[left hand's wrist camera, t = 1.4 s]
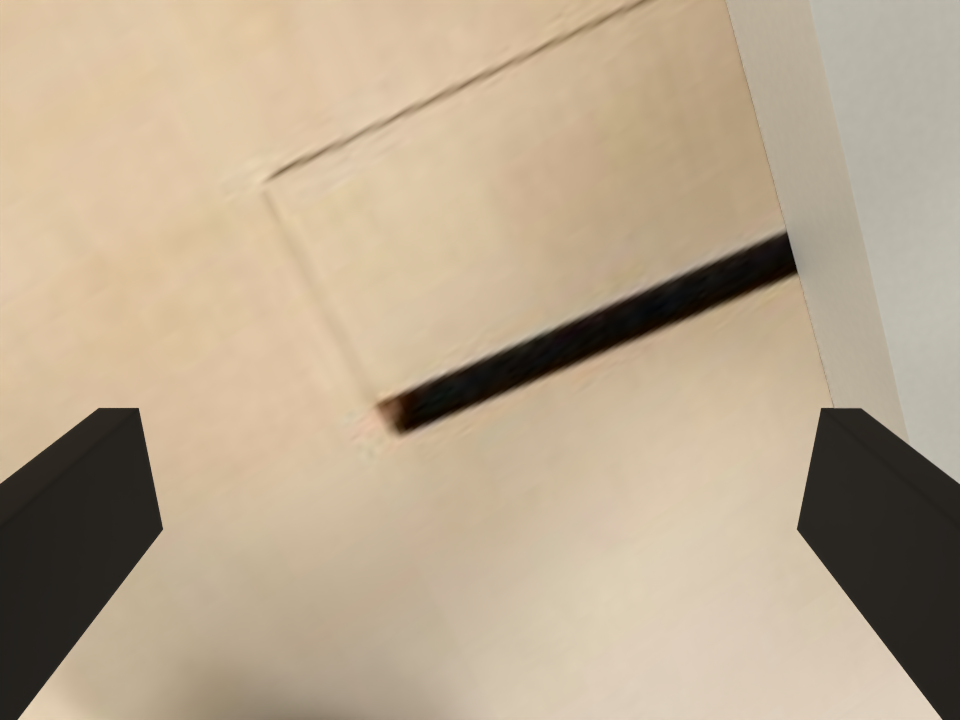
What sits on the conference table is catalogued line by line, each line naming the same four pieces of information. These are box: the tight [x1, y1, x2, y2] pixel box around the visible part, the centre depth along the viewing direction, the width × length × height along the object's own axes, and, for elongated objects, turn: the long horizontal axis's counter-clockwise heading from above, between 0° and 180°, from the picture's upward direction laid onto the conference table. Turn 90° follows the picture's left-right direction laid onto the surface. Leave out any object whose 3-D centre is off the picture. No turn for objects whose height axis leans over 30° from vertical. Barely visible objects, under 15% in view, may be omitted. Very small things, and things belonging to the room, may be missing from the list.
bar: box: [726, 0, 960, 484], centre depth 31 cm, size 57×5×8 cm, turn 23°
